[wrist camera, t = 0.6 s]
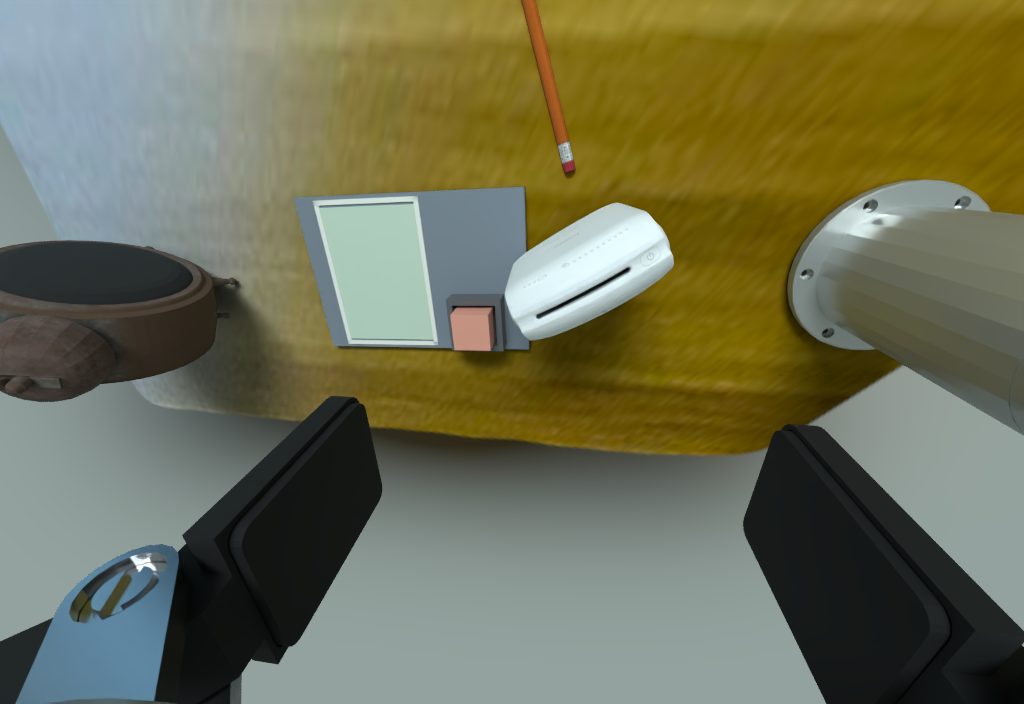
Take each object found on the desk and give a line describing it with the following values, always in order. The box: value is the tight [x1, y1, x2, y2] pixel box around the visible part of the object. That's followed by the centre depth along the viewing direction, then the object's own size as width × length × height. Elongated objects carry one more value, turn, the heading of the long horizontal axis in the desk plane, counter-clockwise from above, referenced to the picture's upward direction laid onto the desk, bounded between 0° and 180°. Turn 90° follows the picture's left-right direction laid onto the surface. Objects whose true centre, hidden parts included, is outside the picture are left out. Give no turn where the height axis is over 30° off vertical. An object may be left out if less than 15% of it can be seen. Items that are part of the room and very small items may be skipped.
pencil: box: [522, 0, 576, 173], centre depth 26 cm, size 1×19×1 cm, turn 18°
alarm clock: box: [0, 240, 236, 402], centre depth 29 cm, size 15×7×20 cm, turn 71°
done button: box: [450, 307, 495, 351], centre depth 33 cm, size 3×3×2 cm
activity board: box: [294, 187, 530, 351], centre depth 33 cm, size 20×14×2 cm
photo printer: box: [505, 203, 674, 340], centre depth 26 cm, size 10×4×12 cm, turn 121°
